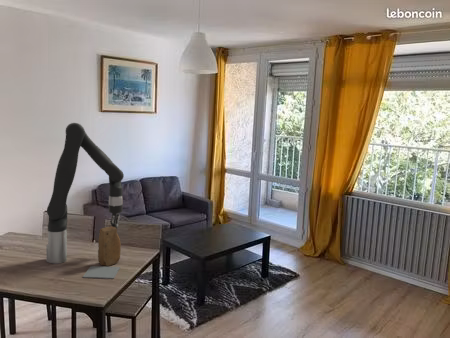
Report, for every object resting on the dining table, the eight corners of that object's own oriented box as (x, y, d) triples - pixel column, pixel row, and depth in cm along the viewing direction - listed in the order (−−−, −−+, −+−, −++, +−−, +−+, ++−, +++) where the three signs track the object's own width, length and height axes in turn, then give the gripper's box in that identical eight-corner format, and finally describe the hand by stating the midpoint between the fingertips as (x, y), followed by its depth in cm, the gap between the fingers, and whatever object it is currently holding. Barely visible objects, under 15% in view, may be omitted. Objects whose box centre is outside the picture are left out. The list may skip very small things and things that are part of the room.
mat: (82, 277, 184) (82, 276, 184) (91, 267, 197) (91, 266, 197) (113, 278, 185) (113, 277, 185) (119, 268, 197) (119, 267, 197)
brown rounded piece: (103, 267, 197) (103, 231, 194) (96, 263, 202) (97, 227, 199) (121, 263, 204) (122, 227, 201) (115, 258, 209) (115, 224, 207)
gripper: (111, 200, 217) (111, 229, 219) (105, 206, 204) (105, 236, 206) (125, 201, 217) (124, 230, 220) (119, 206, 204) (119, 237, 207)
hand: (115, 233), depth 213 cm, fingers closed
